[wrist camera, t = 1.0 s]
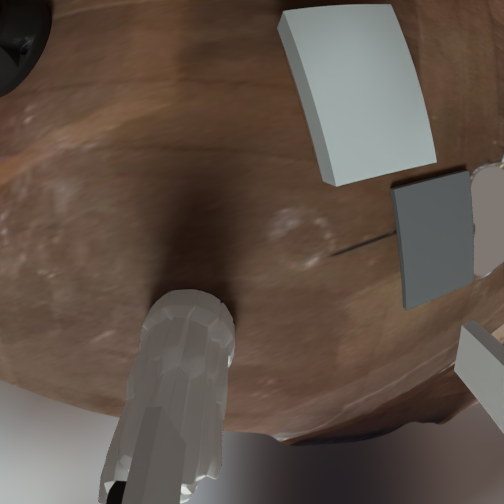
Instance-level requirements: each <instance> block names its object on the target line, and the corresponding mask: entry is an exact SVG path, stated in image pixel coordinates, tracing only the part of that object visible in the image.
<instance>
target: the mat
mask: <svg viewBox="0 0 504 504" xmlns="http://www.w3.org/2000/svg"><path fill="white" fill-rule="evenodd" d="M390 190H391V196H392V202H393V209H394V216H395V223H396V230H397V238H398V247H399V256H400V267H401V279H402V293H403V307H404V308H405V309H406V310H408V309H411V308H413V307H416V306H418V305H421V304H423V303H426V302H428V301H431V300H433V299H435V298H438V297H440V296H443V295H445V294H447V293H449V292H452V291H454V290H456V289H458V288H461V287H463V286H465V285H467V284H469V283H472V282H473V265H474V263H473V262H474V236H473V212H472V198H471V187H470V177H469V171H468V170H461V171H457V172H453V173H449V174H445V175H441V176H437V177H433V178H429V179H425V180H421V181H417V182H413V183H409V184H405V185H401V186H397V187H393V188H390Z"/></svg>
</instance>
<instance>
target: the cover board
mask: <svg viewBox="0 0 504 504" xmlns="http://www.w3.org/2000/svg"><path fill="white" fill-rule="evenodd" d="M277 29H278V32H279V35H280V38H281V40H282V43H283V46H284V49H285V52H286V55H287V58H288V61H289V64H290V67H291V70H292V73H293V76H294V79H295V82H296V86H297V89H298V92H299V95H300V99H301V102H302V105H303V109H304V112H305V116H306V119H307V123H308V126H309V130H310V133H311V137H312V141H313V144H314V148H315V152H316V156H317V160H318V164H319V167H320V172H321V176H322V180H323V181H324V182H326V183H329V184H331V185H334V186H340V185H344V184H348V183H352V182H356V181H360V180H364V179H368V178H372V177H376V176H380V175H384V174H388V173H392V172H396V171H401V170H405V169H409V168H414V167H418V166H422V165H427V164H431V163H436V162H437V161H436V155H435V149H434V144H433V139H432V134H431V129H430V125H429V120H428V116H427V111H426V107H425V103H424V99H423V96H422V92H421V88H420V85H419V81H418V78H417V74H416V71H415V68H414V65H413V62H412V59H411V56H410V53H409V50H408V47H407V44H406V41H405V38H404V36H403V33H402V30H401V28H400V25H399V23H398V20H397V18H396V15H395V13H394V11H393V8H392V6H391V4H353V5H333V6H321V7H310V8H302V9H294V10H287V11H283V13H282V16H281V19H280V21H279V24H278V27H277Z"/></svg>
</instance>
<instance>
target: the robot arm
mask: <svg viewBox="0 0 504 504" xmlns="http://www.w3.org/2000/svg"><path fill="white" fill-rule="evenodd" d="M50 24H51V15H50V10H49V7H48V5H47V4H46V3H45V2H44V1H43V0H0V97H2V96H4V95H6V94H8V93H9V92H11V91H12V90H13V89H15V88H16V87H17V86H18V85H19V84H20V83H21V82H22V81H23V80H24V79H25V78H26V77H27V75H28V74H29V73H30V71H31V70H32V69H33V67H34V66H35V64H36V62H37V61H38V59H39V57H40V55H41V53H42V51H43V49H44V46H45V44H46V41H47V38H48V35H49V30H50ZM454 371H455V372H456V373H457V375H458V376H459V377H460V378H461V379H462V381H463V382H464V383H465V384H466V386H467V387H468V388H469V389H470V391H471V392H472V393H473V394H474V396H475V397H476V398H477V399H478V401H479V402H480V403H481V404H482V406H483V407H484V408H485V409H486V411H487V412H488V413H489V415H490V416H491V417H492V419H493V420H494V421H495V423H496V424H497V425H498V427H499V428H500V429H501V431H502V432H503V433H504V346H503V345H502V344H501V343H500V342H499V341H498V340H497V339H495V338H494V337H493V336H492V335H491V334H490V333H489V332H488V331H487V330H485V329H484V328H483V327H482V326H481V325H480V324H479V323H478V322H476V321H475V320H472V321H470V322H468V323H465V324H463V325H462V327H461V334H460V340H459V346H458V352H457V358H456V363H455V368H454ZM185 450H186V443H185V441H184V440H183V438H182V437H181V435H180V434H179V432H178V431H177V429H176V428H175V426H174V425H173V423H172V421H171V420H170V418H169V417H168V415H167V414H166V412H165V410H164V409H163V407H162V406H160V407H149V408H146V409H145V413H144V416H143V420H142V423H141V427H140V431H139V435H138V438H137V442H136V446H135V450H134V454H133V458H132V462H131V466H130V470H129V474H128V478H127V481H117V480H116V481H115V483H114V484H113V486H112V487H111V488H110V490H109V492H108V496H107V500H106V502H107V503H106V504H180V495H181V486H182V476H183V467H184V458H185Z"/></svg>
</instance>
